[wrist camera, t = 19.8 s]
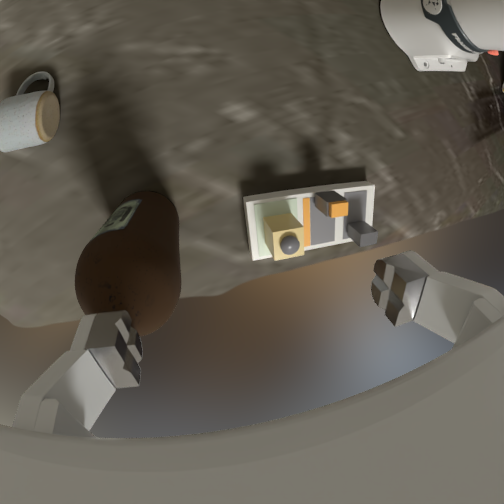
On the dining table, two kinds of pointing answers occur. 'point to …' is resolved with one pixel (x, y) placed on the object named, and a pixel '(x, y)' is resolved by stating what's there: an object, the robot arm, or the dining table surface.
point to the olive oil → (133, 263)
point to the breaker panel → (308, 214)
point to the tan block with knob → (284, 236)
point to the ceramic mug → (29, 116)
